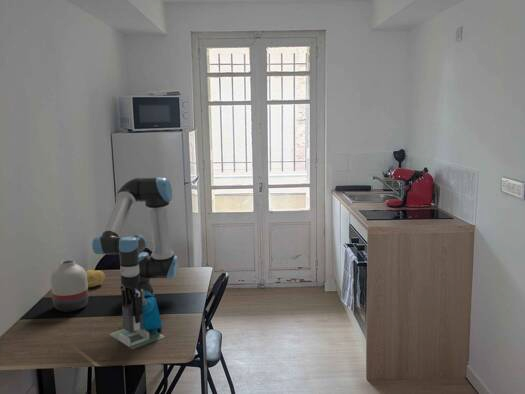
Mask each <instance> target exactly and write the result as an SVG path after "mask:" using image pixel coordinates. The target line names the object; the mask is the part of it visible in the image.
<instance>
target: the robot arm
mask: <svg viewBox="0 0 525 394" xmlns="http://www.w3.org/2000/svg"><path fill="white" fill-rule="evenodd" d="M172 200H173V188H172V185H171V182H170V180H169V179H168V178H166V177H159V176H158V177H135V178H131V179H129V180H128V181H127V182H125V183H124V184H123V185H122V186H121V187H120V188H119V189H118V191H117V192H116V195H115V203H114V206H113V207H112V210H111V213H110V216H109V218H108V220H107V222H106V224H105V227H104V229H103V232H102V234H101V236H95V237H94V238H93V240H92V241H91V243H92V244H91V247H92V251H93V253H94V254H95V255H119V267H120V269H119V271H120V283H121V285H120V292H121V307H122V306H124V305H128V304H131V303H132V308H133V313H134V315H132V316H133V330H134V331H135V330H138V329H140V315H141V314H143V311H142V292H141V289H143V290H145V291H148V292H150V293H151V295H152V297H155V292H154V291H155V290H154V289H153V285H152V283H151V279H157V280H158V279H161V280H163V279H166V280H168V279H174V278H175V277H176V276H177V272H178V269H179V268H178V267H179V257H178V256H177V255H175V252H174V250H172V249H171V239H170V238H171V237H170V230H169V218H168V206H169V205H170V203H171V201H172ZM138 202H142V203H144V204H145V205H144V206H145V207H146V208H147V209H148V210H149V211H148V212H149V220H150V232H151V238H152V239H151V241H152V246H153V248H152V249H153V251H152V252H151V254H149V253H148V252H146V251H145V250H146V248H147V245H148V241H147V238H146V237H145V236H144V235H142V234H134V235H133V236H121V235H122V234H123V233H122V232H123V230H124V228H125V224H126V222H127V220H128V217H129V214H130V212H131V209H132V207H134V206H135V204H136V203H138Z"/></svg>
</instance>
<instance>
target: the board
mask: <svg viewBox="0 0 525 394" xmlns="http://www.w3.org/2000/svg"><path fill="white" fill-rule="evenodd" d="M120 333H121V334H123V335H124V336H128V335H131V334H134V333H138V332H136V331H132V332H128V331H126V330H125V329H119V330H117V331H114V332H110V333H109V334H108V335H109V336H111V337H112V338H114V339H115V340H117V341H118V342H120V343H122V342H121V341H119V334H120ZM135 337H137V338H135ZM164 338H166V336H165V335H164V334H162V333H160V332H158V331H157V335H156V334H155V330H151V331H149V339H148V340H146V341H143V342H140V343H138V344H135V345H132V346H127V345H126V344H124V343H122V344H123V345H125V346H127V347H128V348H130V349H131V350H134V349H136V348H137V349H138V348H140V347H142V346H144V345H147V344H150V343H153V342H156V341H159V340H161V339H164ZM129 339H131V340H130V343H133V342H131V341H134V342H135V341H138V339H140V340H141V339H144V337H142V336H140V335H139V334H138V335H136V336H133V337H130V338H129Z"/></svg>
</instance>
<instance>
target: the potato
mask: <svg viewBox="0 0 525 394" xmlns="http://www.w3.org/2000/svg"><path fill="white" fill-rule="evenodd" d="M85 271H86V274H87V282H88V289H89V287H90V288H94V287H98V286H99V285H101V284H102V283H104V280H105V277H106V273H104V271H102V270H95V269H88V270H85Z"/></svg>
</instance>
